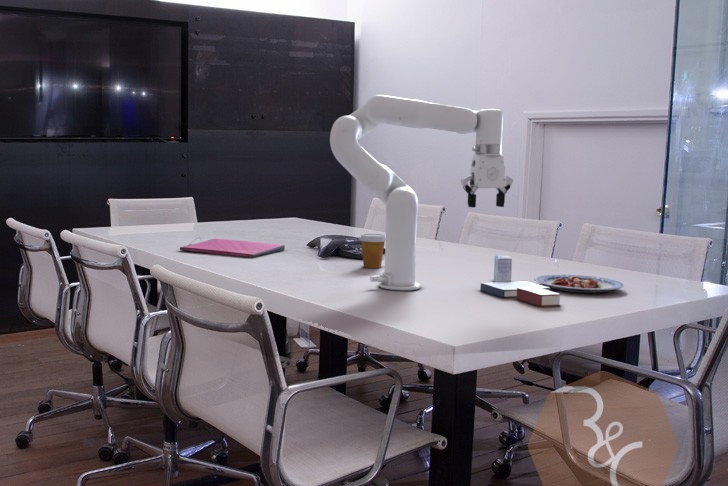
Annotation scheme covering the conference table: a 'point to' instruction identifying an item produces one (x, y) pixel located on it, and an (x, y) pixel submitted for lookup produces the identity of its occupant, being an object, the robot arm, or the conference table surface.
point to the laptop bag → (233, 248)
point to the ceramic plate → (579, 283)
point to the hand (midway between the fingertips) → (485, 206)
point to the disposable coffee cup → (372, 249)
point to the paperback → (538, 296)
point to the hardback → (507, 288)
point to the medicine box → (502, 268)
